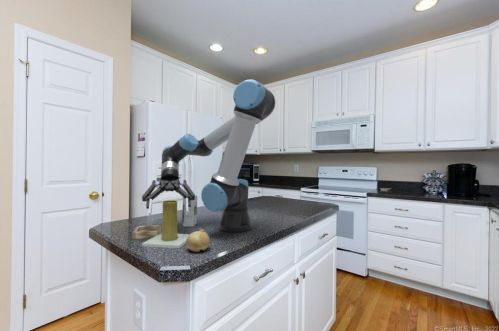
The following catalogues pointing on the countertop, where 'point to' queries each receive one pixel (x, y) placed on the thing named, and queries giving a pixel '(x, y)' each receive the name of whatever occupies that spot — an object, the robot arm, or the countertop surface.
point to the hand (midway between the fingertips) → (168, 214)
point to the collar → (146, 231)
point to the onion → (198, 241)
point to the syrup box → (189, 213)
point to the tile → (166, 242)
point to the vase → (169, 221)
